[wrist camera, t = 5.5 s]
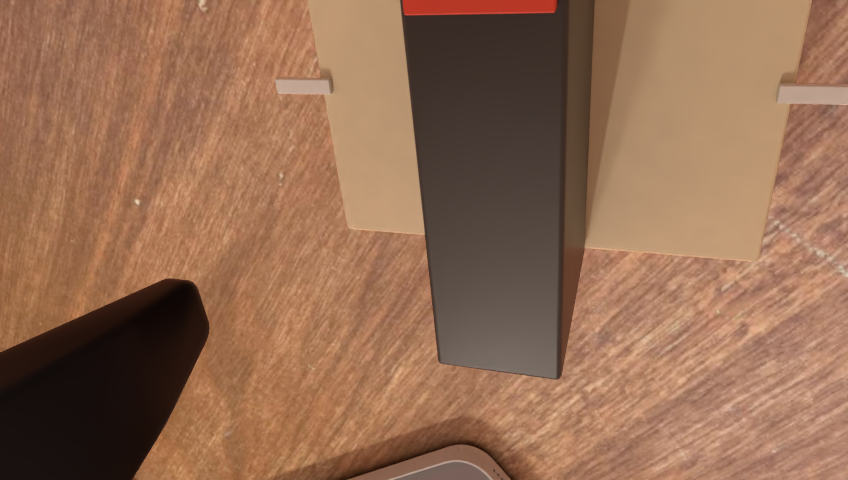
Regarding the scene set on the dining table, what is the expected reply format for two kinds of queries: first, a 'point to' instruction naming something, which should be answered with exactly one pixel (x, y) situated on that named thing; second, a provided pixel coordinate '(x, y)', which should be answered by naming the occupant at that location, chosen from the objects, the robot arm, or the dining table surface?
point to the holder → (502, 173)
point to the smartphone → (442, 466)
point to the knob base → (599, 119)
